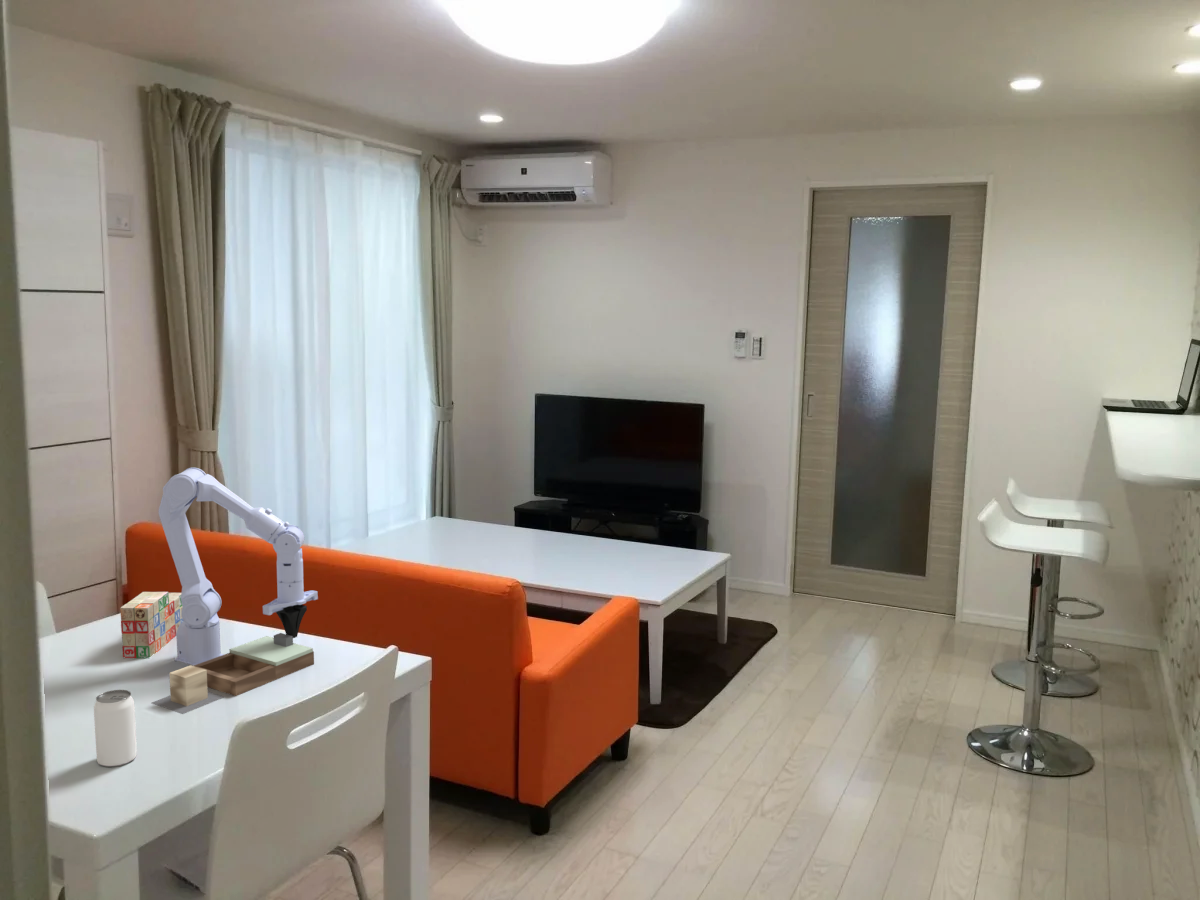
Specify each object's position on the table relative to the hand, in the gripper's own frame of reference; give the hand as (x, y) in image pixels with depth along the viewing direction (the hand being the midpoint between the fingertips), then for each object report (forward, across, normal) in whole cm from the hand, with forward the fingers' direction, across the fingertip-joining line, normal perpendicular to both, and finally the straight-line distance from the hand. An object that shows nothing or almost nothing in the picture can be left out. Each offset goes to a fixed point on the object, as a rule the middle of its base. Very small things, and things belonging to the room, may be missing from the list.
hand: (291, 636), depth 223 cm
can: (+6, -52, -12) cm, 53 cm away
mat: (+5, -29, -1) cm, 29 cm away
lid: (+2, -6, 0) cm, 6 cm away
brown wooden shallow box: (+5, -12, 0) cm, 13 cm away
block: (+5, -28, -1) cm, 29 cm away
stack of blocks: (+6, -10, +36) cm, 38 cm away
